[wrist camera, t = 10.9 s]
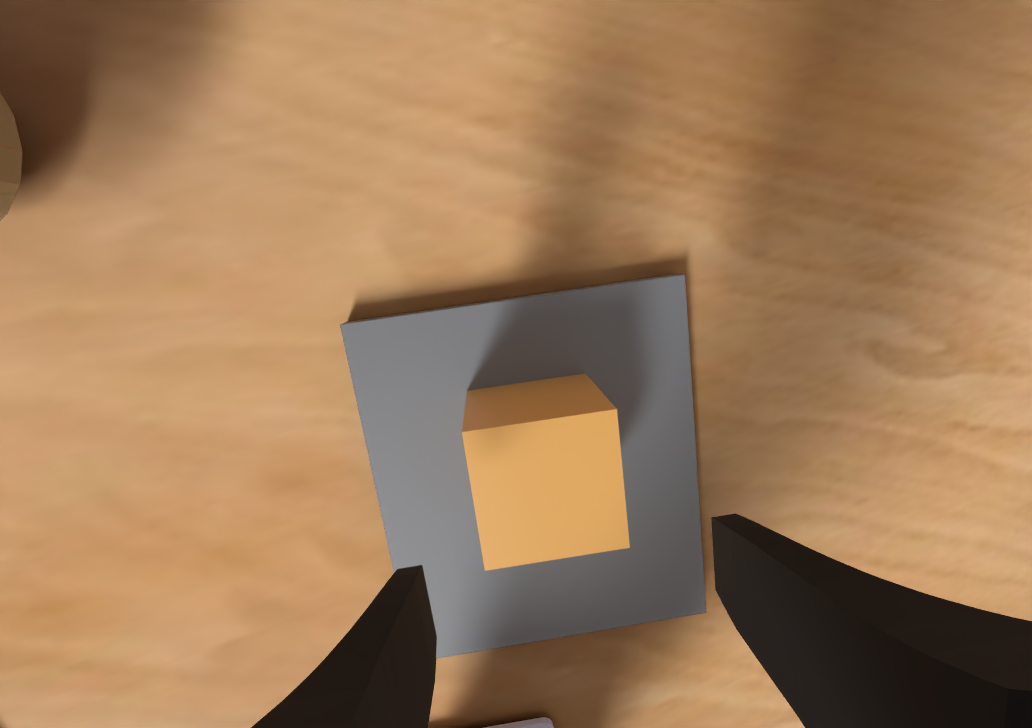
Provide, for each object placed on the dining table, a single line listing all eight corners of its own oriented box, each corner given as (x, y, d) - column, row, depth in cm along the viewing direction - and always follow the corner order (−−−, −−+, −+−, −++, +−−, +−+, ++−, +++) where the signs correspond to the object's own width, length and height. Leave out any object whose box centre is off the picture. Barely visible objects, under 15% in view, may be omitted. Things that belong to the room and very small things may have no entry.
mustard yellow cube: (597, 482, 22) (629, 547, 17) (484, 500, 22) (484, 570, 17) (585, 373, 21) (616, 409, 16) (466, 390, 21) (461, 431, 16)
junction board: (697, 598, 25) (744, 672, 20) (416, 646, 24) (401, 732, 20) (675, 273, 21) (726, 278, 17) (346, 321, 21) (309, 338, 16)
